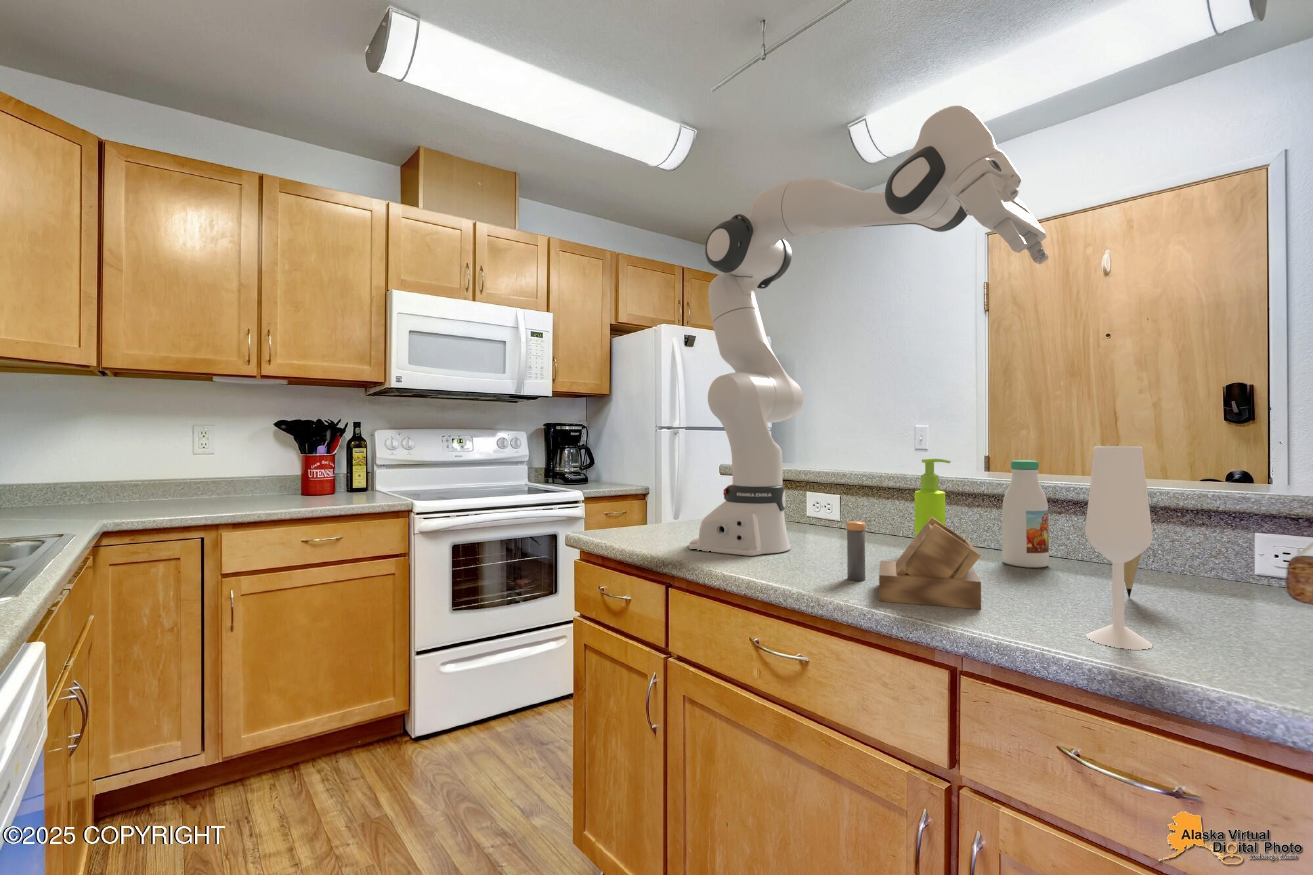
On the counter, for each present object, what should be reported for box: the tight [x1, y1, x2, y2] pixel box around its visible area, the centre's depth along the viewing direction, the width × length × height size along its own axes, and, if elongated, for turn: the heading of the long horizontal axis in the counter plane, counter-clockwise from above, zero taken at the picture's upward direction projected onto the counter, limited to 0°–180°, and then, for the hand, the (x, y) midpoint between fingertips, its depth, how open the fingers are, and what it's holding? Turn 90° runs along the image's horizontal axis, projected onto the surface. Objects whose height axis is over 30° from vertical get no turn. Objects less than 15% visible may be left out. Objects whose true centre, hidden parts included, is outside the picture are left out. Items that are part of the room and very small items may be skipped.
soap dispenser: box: [914, 458, 952, 538], centre depth 130 cm, size 6×7×20 cm
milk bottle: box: [1001, 459, 1050, 569], centre depth 120 cm, size 8×8×20 cm
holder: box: [878, 517, 982, 610], centre depth 98 cm, size 14×11×12 cm
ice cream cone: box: [1124, 524, 1153, 599], centre depth 96 cm, size 6×6×15 cm
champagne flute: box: [1084, 445, 1154, 651], centre depth 77 cm, size 7×7×24 cm
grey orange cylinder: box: [846, 520, 866, 582], centre depth 110 cm, size 3×3×10 cm
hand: (1032, 255), depth 96 cm, fingers open, 8 cm apart
